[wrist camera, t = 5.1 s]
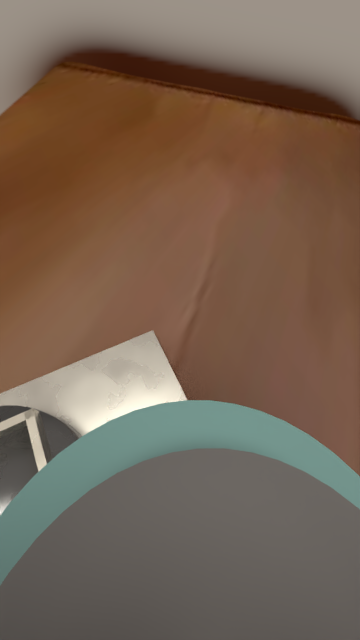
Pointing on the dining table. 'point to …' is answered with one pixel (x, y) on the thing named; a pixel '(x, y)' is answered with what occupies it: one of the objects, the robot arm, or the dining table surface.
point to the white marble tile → (78, 405)
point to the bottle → (185, 533)
